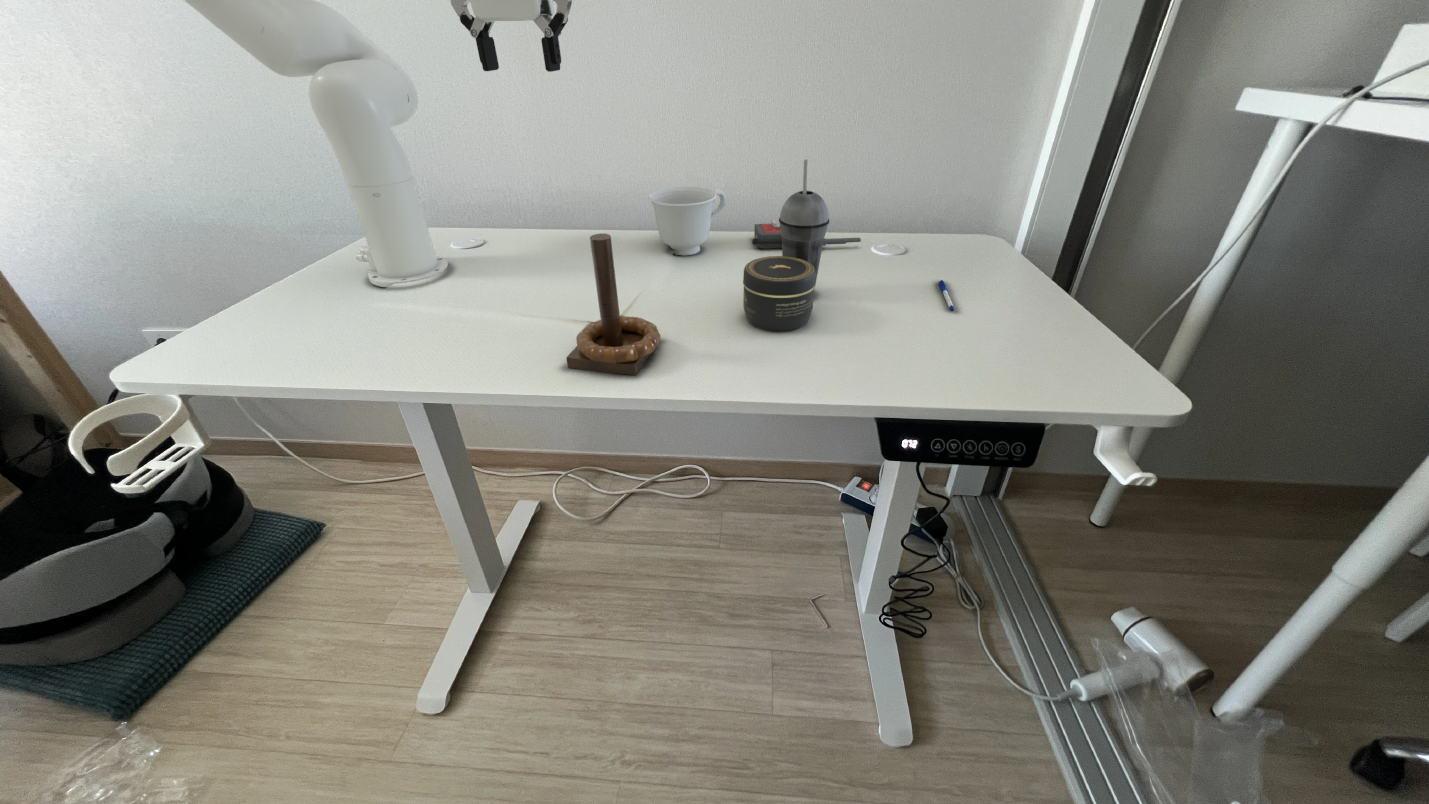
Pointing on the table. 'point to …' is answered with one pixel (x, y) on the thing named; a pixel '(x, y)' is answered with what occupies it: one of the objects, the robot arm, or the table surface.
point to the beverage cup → (804, 225)
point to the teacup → (685, 216)
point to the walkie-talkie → (772, 236)
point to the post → (607, 313)
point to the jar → (778, 292)
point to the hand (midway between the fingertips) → (522, 70)
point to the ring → (621, 352)
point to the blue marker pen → (946, 295)
